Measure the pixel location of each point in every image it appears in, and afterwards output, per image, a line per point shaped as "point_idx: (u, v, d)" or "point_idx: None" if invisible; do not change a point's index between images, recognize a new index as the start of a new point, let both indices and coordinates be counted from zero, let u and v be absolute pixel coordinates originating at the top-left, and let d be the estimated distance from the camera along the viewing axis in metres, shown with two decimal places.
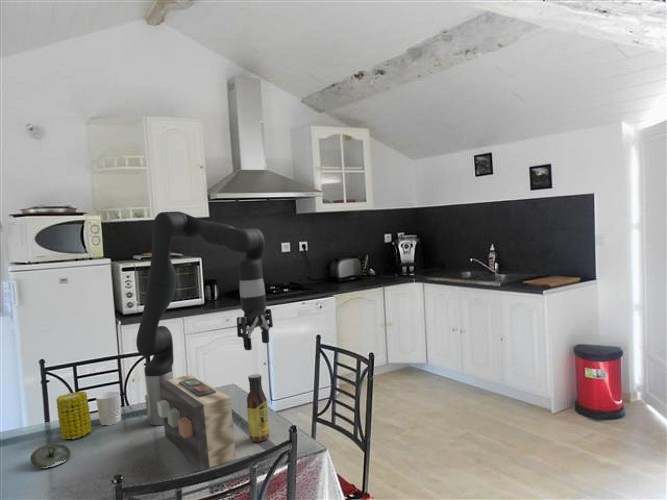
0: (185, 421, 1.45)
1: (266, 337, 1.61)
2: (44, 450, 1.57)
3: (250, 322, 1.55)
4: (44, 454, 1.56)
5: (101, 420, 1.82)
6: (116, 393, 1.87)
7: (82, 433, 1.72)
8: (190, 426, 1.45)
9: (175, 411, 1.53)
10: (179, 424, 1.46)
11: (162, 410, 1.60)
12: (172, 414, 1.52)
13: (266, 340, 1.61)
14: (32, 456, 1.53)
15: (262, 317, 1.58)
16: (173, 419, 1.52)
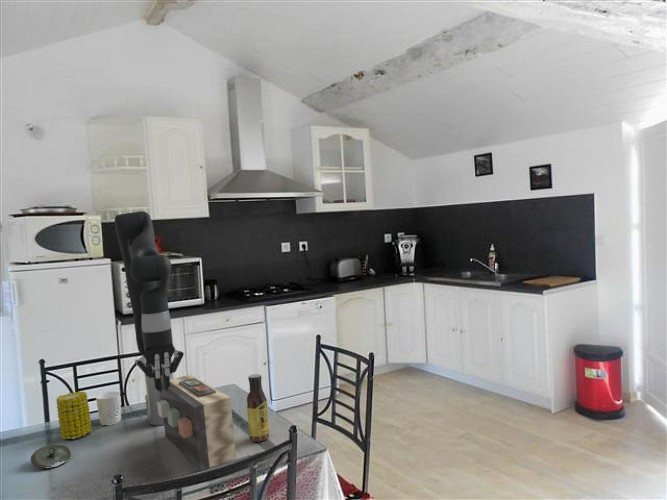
0: (185, 421, 1.45)
1: None
2: (44, 451, 1.57)
3: None
4: (44, 455, 1.55)
5: (101, 420, 1.82)
6: (116, 393, 1.87)
7: (82, 433, 1.72)
8: (190, 426, 1.45)
9: (175, 411, 1.53)
10: (179, 424, 1.46)
11: (162, 410, 1.60)
12: (172, 414, 1.52)
13: None
14: (32, 457, 1.53)
15: None
16: (173, 419, 1.52)
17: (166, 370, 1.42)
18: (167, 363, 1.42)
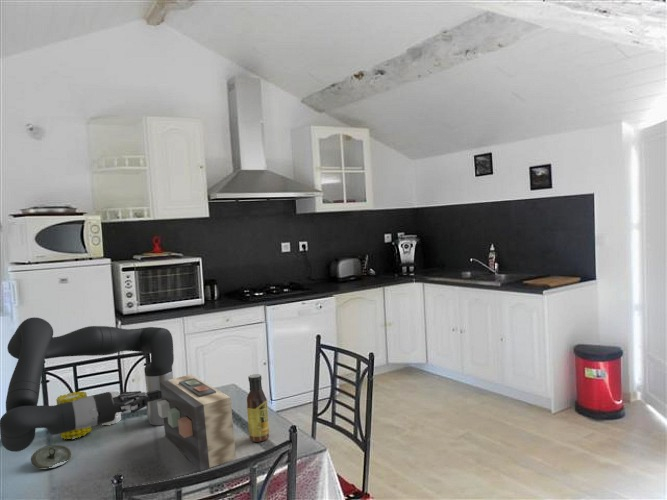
0: (185, 421, 1.45)
1: None
2: (44, 451, 1.56)
3: (131, 400, 1.35)
4: (44, 455, 1.55)
5: None
6: (116, 393, 1.87)
7: (82, 433, 1.72)
8: (190, 426, 1.45)
9: (175, 411, 1.53)
10: (179, 424, 1.46)
11: (162, 410, 1.60)
12: (172, 414, 1.52)
13: None
14: (32, 457, 1.52)
15: (121, 394, 1.37)
16: (173, 419, 1.52)
17: None
18: None
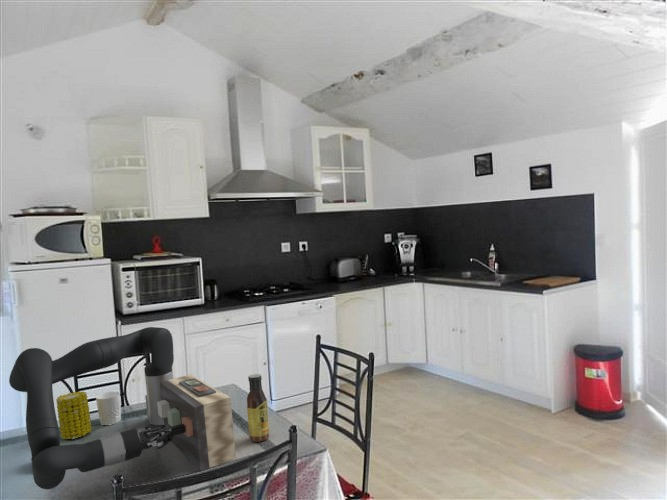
0: (189, 420, 1.45)
1: None
2: None
3: (157, 435, 1.39)
4: None
5: (101, 420, 1.82)
6: (116, 393, 1.87)
7: (82, 433, 1.72)
8: None
9: (175, 411, 1.53)
10: (183, 423, 1.47)
11: (162, 410, 1.60)
12: (172, 414, 1.52)
13: None
14: None
15: (147, 430, 1.41)
16: (173, 419, 1.52)
17: None
18: None
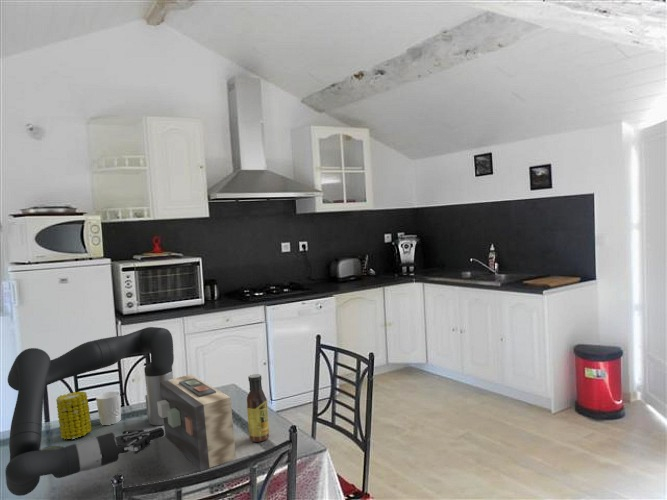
0: None
1: None
2: None
3: (134, 440, 1.38)
4: None
5: (101, 420, 1.82)
6: (116, 393, 1.87)
7: (82, 433, 1.72)
8: None
9: (175, 411, 1.53)
10: (186, 422, 1.47)
11: (162, 410, 1.60)
12: (172, 414, 1.52)
13: None
14: None
15: (124, 434, 1.39)
16: (173, 419, 1.52)
17: None
18: None
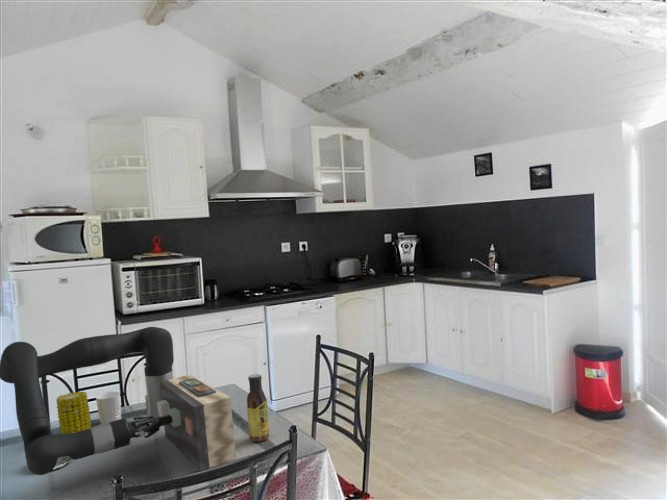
0: None
1: None
2: None
3: (144, 425, 1.47)
4: None
5: (101, 420, 1.82)
6: (116, 393, 1.87)
7: None
8: None
9: (176, 411, 1.54)
10: (186, 422, 1.47)
11: (162, 410, 1.60)
12: (173, 414, 1.52)
13: None
14: None
15: (135, 420, 1.49)
16: (174, 419, 1.52)
17: None
18: None
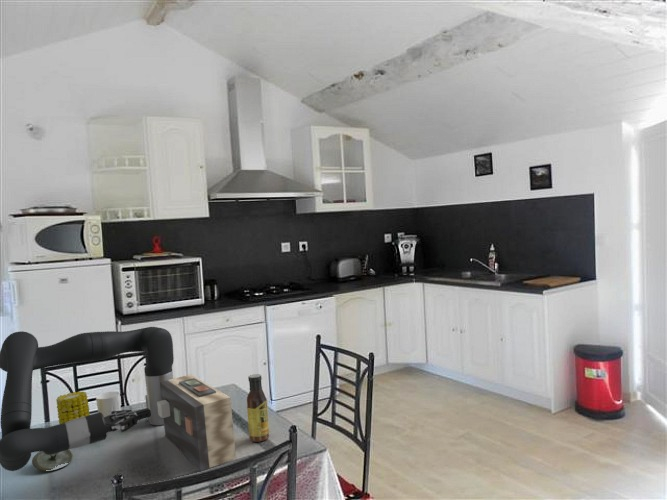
0: None
1: None
2: None
3: (122, 419, 1.44)
4: (46, 457, 1.53)
5: None
6: (116, 393, 1.87)
7: None
8: None
9: None
10: (186, 422, 1.47)
11: (162, 410, 1.60)
12: (179, 412, 1.53)
13: None
14: (34, 459, 1.51)
15: (112, 414, 1.45)
16: (180, 417, 1.53)
17: None
18: None
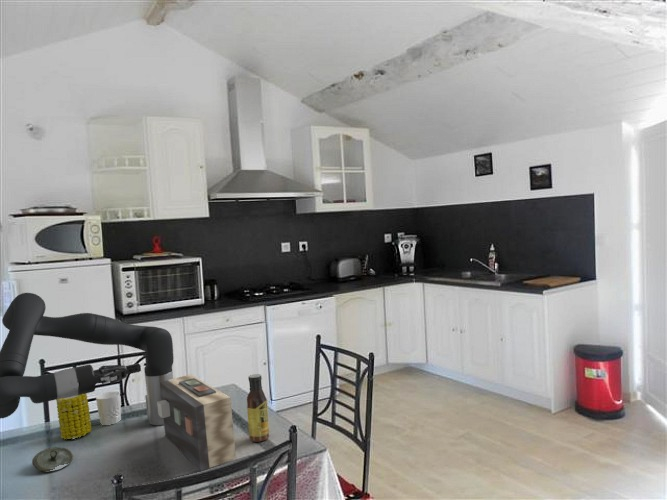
0: None
1: None
2: (46, 454, 1.54)
3: (111, 372, 1.43)
4: (46, 458, 1.53)
5: (101, 420, 1.82)
6: (116, 393, 1.87)
7: (82, 433, 1.72)
8: None
9: None
10: (186, 422, 1.47)
11: (162, 410, 1.60)
12: (179, 412, 1.53)
13: None
14: (34, 460, 1.51)
15: (101, 367, 1.45)
16: (180, 417, 1.53)
17: None
18: None
